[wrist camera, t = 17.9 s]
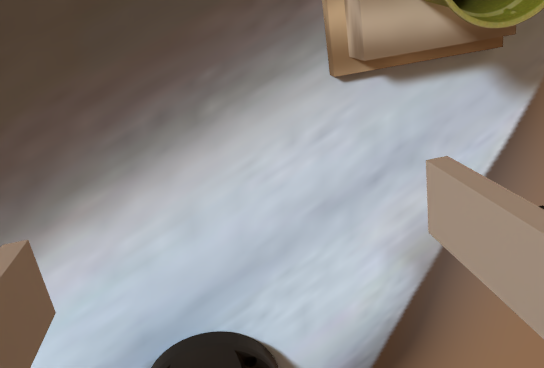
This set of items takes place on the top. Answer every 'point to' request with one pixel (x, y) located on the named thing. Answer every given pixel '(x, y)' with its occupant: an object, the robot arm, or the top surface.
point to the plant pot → (493, 11)
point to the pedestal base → (362, 66)
